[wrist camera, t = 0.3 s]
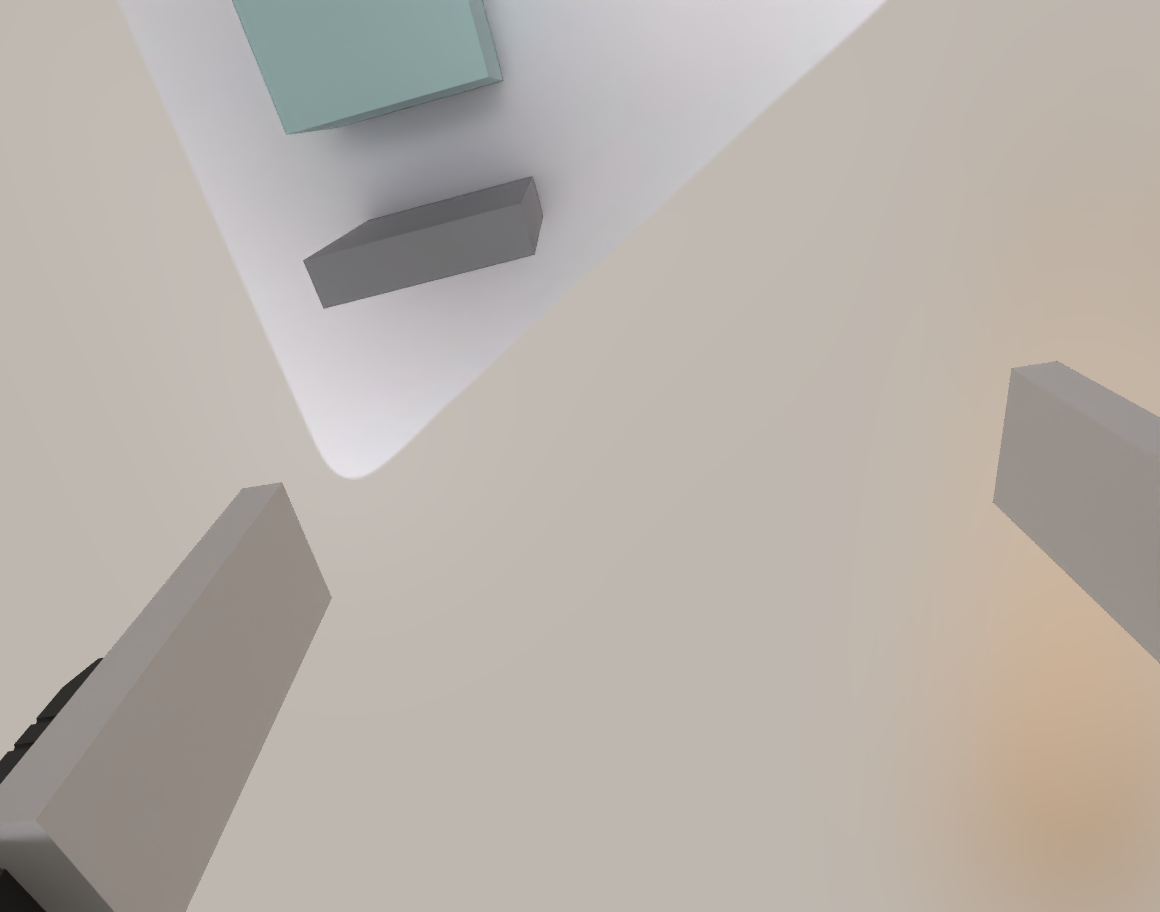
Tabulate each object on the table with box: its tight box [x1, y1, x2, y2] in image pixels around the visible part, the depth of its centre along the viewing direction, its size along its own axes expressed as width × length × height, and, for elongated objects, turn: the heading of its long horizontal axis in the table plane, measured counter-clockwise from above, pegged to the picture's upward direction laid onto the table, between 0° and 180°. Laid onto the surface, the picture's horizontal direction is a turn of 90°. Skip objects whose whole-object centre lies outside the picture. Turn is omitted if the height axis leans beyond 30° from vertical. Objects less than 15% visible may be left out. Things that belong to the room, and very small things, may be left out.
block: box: [232, 0, 503, 135], centre depth 29 cm, size 6×9×7 cm
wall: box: [303, 176, 543, 308], centre depth 32 cm, size 2×9×10 cm, turn 104°
